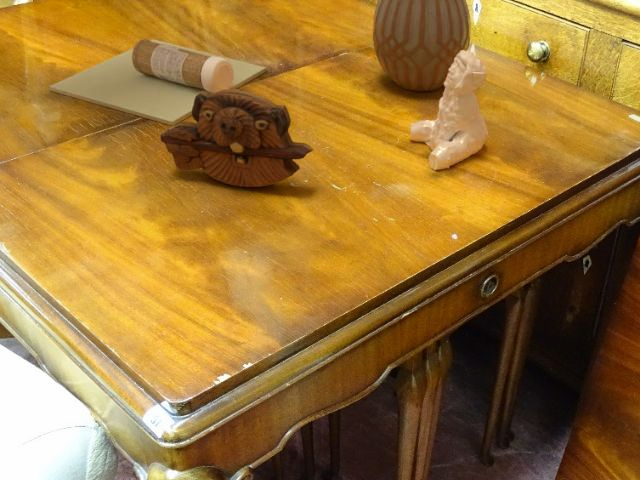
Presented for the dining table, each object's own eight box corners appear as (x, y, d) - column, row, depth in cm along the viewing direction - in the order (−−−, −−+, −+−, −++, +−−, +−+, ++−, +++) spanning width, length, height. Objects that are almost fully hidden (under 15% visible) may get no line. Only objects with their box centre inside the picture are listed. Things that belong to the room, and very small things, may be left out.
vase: (408, 110, 101) (413, -32, 90) (354, 75, 109) (353, -59, 98) (485, 89, 107) (498, -46, 96) (429, 57, 115) (435, -70, 104)
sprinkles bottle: (158, 50, 106) (239, 71, 101) (145, 79, 105) (225, 101, 101) (138, 31, 101) (222, 52, 97) (124, 61, 101) (207, 84, 97)
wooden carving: (160, 184, 84) (143, 96, 77) (176, 164, 87) (161, 78, 81) (308, 201, 82) (304, 113, 76) (319, 180, 86) (315, 95, 79)
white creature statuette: (404, 136, 95) (407, 39, 87) (468, 127, 98) (477, 32, 90) (432, 172, 88) (439, 71, 81) (500, 162, 91) (512, 63, 83)
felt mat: (49, 90, 100) (48, 86, 100) (153, 43, 114) (152, 39, 114) (173, 126, 94) (172, 121, 94) (266, 71, 108) (266, 67, 108)
